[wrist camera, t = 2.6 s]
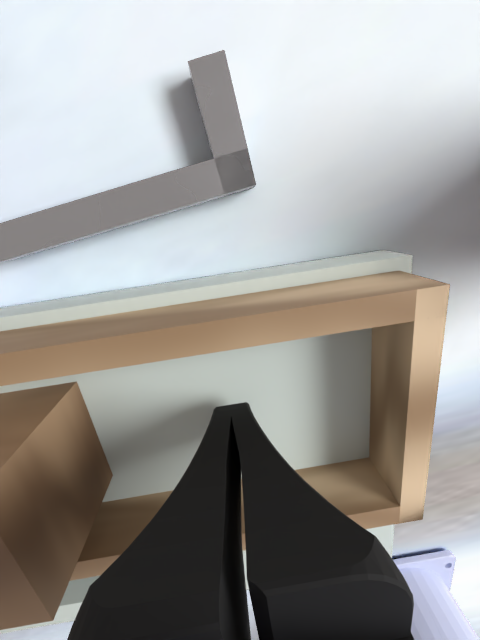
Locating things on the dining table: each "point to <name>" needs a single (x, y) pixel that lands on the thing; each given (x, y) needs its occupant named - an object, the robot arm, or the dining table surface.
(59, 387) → the cube
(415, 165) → the dining table surface
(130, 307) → the board
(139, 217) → the crook tool
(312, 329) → the wooden u-shaped frame
